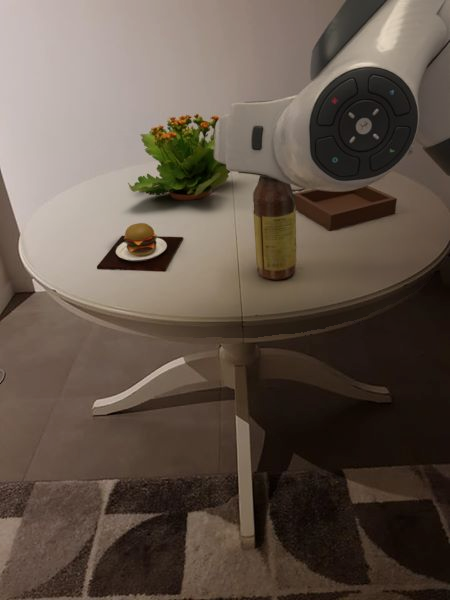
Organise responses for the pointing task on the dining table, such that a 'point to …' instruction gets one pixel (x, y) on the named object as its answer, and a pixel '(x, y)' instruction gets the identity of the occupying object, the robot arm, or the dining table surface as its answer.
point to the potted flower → (182, 160)
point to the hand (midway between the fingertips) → (294, 150)
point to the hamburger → (141, 250)
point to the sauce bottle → (274, 228)
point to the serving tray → (344, 206)
